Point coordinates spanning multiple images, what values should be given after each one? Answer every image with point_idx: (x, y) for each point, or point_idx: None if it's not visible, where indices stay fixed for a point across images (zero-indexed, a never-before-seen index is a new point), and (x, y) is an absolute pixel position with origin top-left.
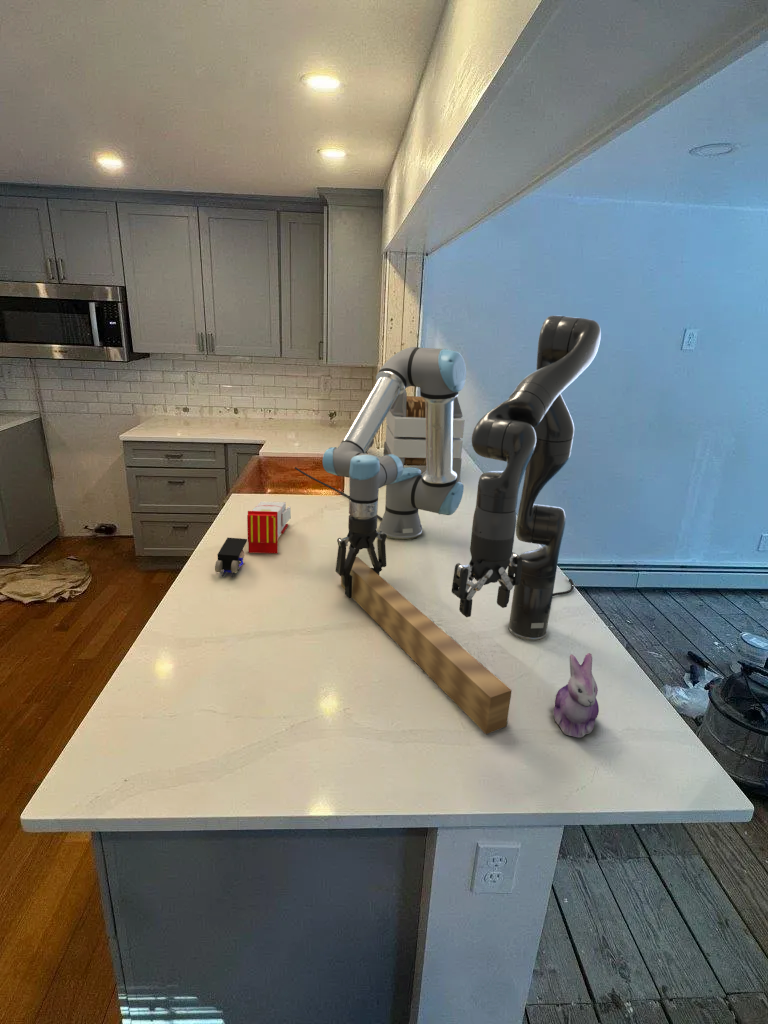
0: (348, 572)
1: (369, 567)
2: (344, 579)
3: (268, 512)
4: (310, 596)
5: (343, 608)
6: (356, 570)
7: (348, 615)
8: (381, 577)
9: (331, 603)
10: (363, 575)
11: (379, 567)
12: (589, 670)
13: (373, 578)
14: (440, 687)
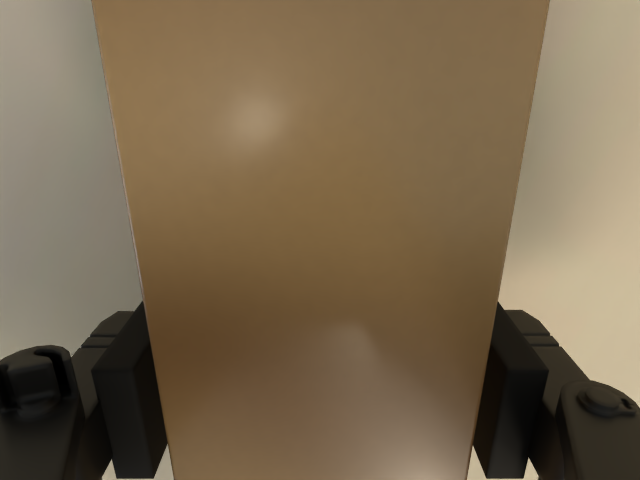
0: (608, 431)
1: (181, 462)
2: (578, 370)
3: None
4: (637, 389)
5: (546, 143)
6: (428, 450)
7: (584, 6)
8: (98, 9)
9: (577, 252)
10: (422, 260)
11: (13, 417)
12: None
13: (299, 46)
14: None
